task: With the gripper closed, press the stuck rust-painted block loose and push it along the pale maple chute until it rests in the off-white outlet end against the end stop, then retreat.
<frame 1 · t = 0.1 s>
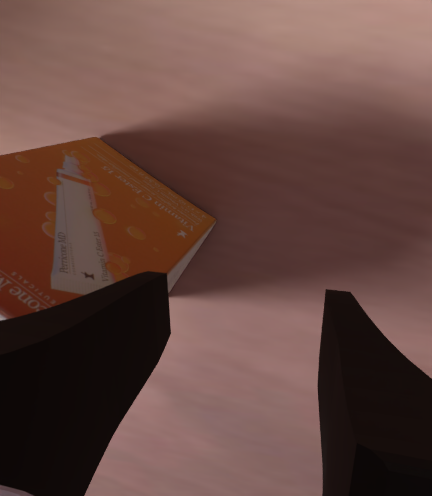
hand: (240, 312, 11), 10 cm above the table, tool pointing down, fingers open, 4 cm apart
small box: (134, 219, 23), on the table, touching gripper
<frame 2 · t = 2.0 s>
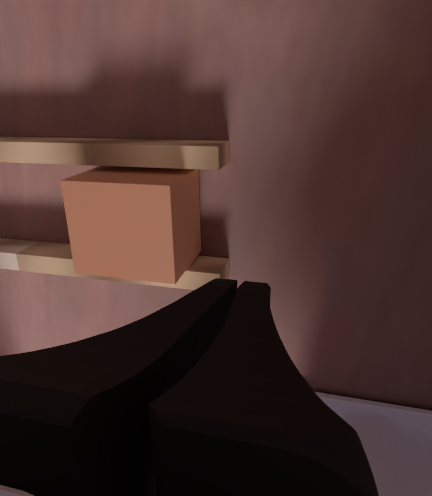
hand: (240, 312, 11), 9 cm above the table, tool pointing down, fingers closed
chute: (78, 203, 22), on the table
block: (138, 219, 20), point 2 cm above the table, slide at 0.0 cm
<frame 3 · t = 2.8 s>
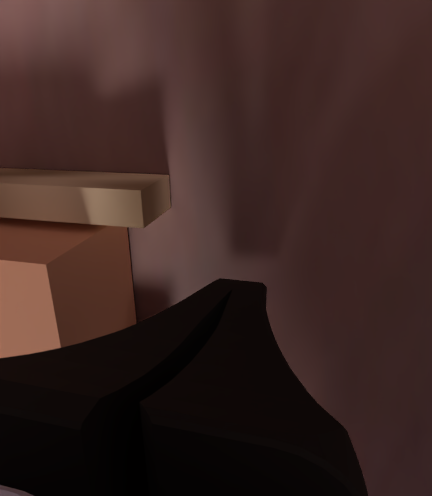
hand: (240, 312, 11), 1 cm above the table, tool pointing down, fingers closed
block: (28, 297, 12), point 2 cm above the table, slide at 0.0 cm
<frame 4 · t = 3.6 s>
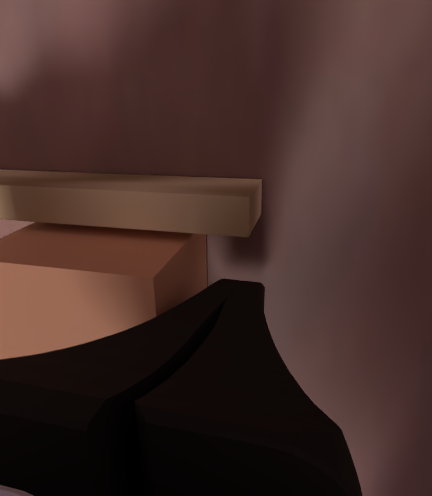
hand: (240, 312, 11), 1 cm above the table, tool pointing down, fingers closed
chute: (24, 267, 15), on the table
block: (105, 309, 12), point 2 cm above the table, slide at 0.2 cm, touching gripper
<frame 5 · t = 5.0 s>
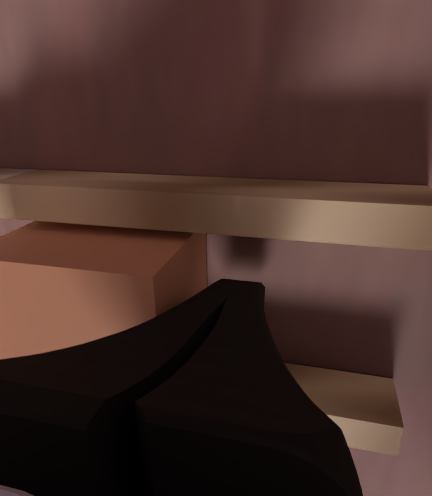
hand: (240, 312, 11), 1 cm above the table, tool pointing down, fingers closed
chute: (131, 277, 14), on the table
block: (104, 308, 12), point 2 cm above the table, slide at 4.4 cm, touching gripper
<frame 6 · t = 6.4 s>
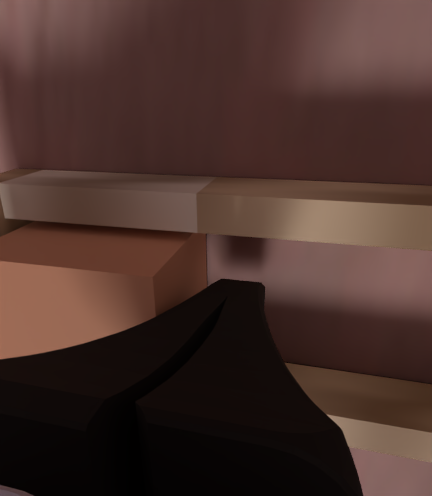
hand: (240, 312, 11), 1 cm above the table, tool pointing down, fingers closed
chute: (315, 297, 12), on the table
block: (104, 308, 12), point 2 cm above the table, slide at 10.4 cm, touching gripper
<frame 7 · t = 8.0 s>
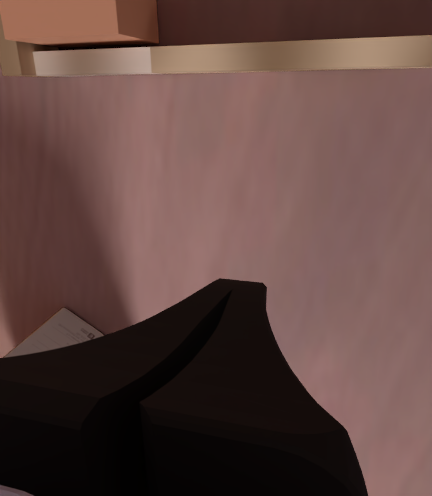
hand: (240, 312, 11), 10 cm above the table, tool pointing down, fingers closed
small box: (82, 367, 28), on the table
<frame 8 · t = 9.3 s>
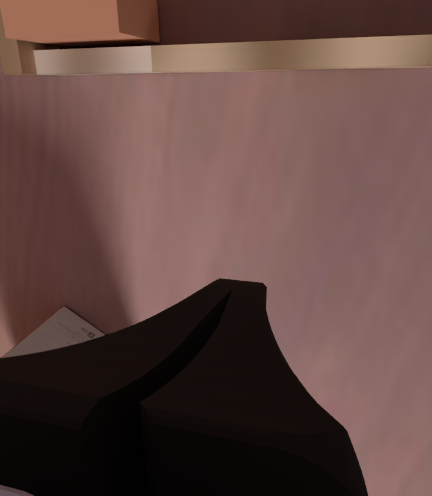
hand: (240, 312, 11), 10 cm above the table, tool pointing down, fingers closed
small box: (82, 367, 28), on the table
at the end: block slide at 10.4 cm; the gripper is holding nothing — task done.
